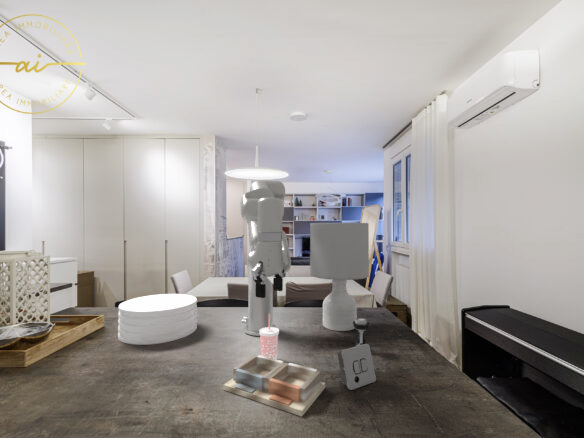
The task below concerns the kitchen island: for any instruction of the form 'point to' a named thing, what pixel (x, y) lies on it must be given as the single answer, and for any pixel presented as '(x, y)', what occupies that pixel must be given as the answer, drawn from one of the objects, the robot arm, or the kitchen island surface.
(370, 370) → the electrical switch
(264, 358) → the socket board
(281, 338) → the kitchen island surface
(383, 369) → the kitchen island surface
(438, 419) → the kitchen island surface
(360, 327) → the push button
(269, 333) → the beverage cup
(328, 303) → the lamp
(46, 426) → the kitchen island surface
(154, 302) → the plate stack
